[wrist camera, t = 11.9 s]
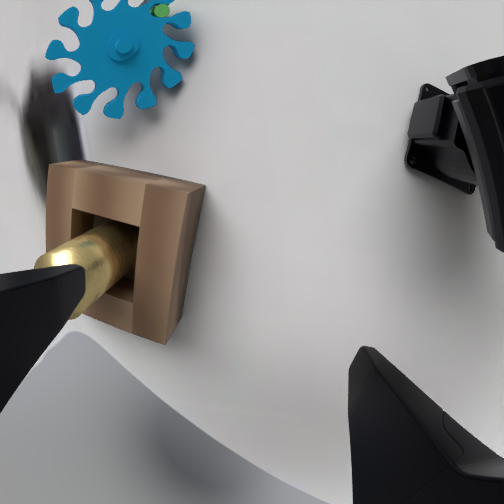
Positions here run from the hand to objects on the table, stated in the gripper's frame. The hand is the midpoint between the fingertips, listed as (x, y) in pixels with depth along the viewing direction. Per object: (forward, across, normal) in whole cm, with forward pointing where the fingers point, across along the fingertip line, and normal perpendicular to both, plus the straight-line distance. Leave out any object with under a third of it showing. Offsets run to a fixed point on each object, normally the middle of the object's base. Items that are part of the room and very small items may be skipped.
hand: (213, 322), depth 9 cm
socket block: (+13, +10, +4) cm, 17 cm away
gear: (+13, +11, -10) cm, 20 cm away
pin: (+12, +9, +4) cm, 16 cm away
